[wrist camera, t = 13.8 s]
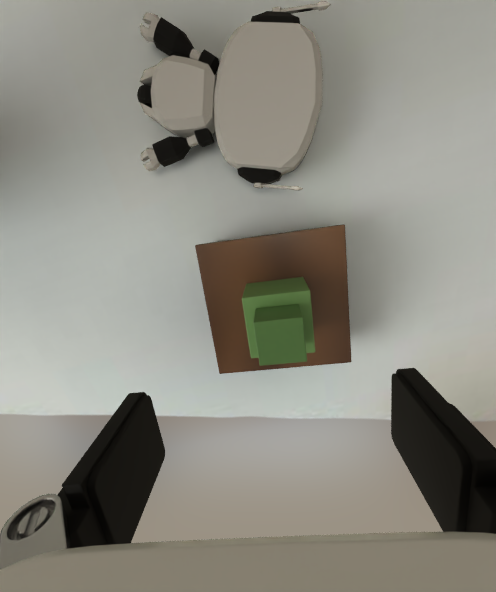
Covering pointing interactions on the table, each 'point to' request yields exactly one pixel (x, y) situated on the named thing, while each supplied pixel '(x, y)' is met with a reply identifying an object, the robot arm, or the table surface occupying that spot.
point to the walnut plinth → (275, 266)
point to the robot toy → (237, 94)
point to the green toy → (279, 321)
